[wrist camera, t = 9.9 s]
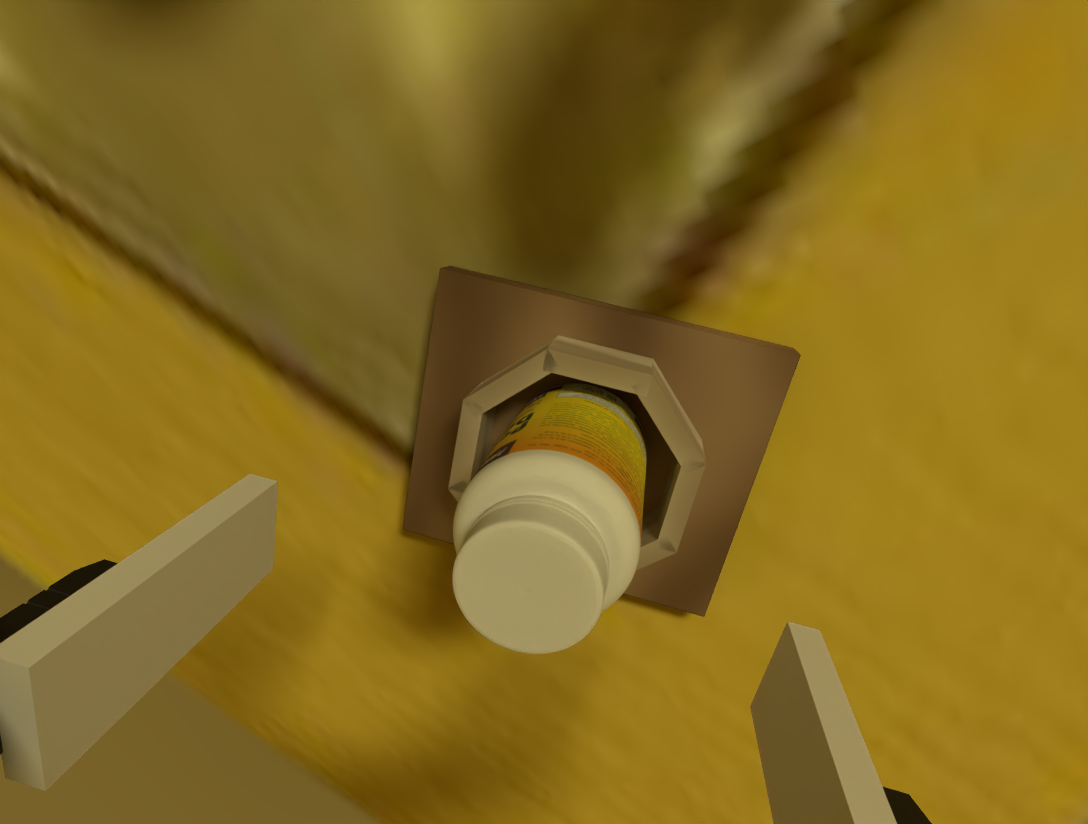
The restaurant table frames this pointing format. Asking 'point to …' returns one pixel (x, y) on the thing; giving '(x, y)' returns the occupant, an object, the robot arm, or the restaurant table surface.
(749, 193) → the restaurant table surface
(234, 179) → the restaurant table surface
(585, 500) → the supplement bottle
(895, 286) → the restaurant table surface
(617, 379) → the holder
